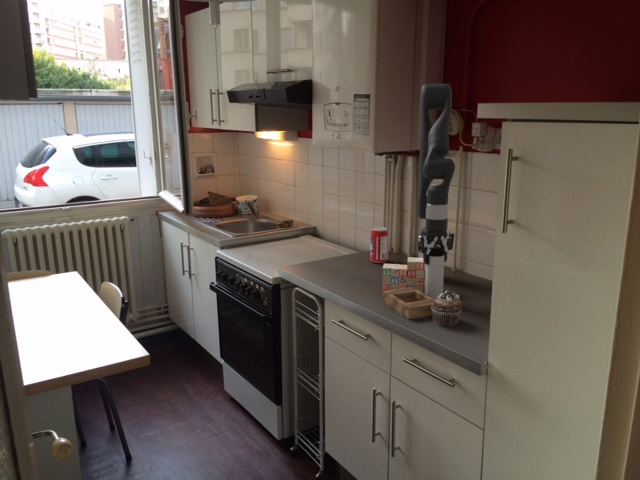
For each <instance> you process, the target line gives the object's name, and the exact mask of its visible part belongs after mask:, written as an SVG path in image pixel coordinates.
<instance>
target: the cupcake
mask: <svg viewBox="0 0 640 480" xmlns="http://www.w3.org/2000/svg"><path fill="white" fill-rule="evenodd" d="M462 309H463V306H462V300H461V299H460V294H459V293H457V292H454V291H450V290H449V289H447V290H445V291H443V292H442V294H440V295H439V296H438V297H437V298H436V299H435V300H434V304H432V306H431V310H432V316H431V317H432V321H433V323H434V324H435V325H438V326H441V327H453V326H454V327H455V325H458V322H459V321H460V316H461V315H460V314H461V312H462Z"/></svg>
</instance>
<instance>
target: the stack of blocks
mask: <svg viewBox="0 0 640 480" xmlns="http://www.w3.org/2000/svg"><path fill="white" fill-rule="evenodd" d="M425 280H426V264H425V263H424V262H423V258H419V257H411V256H409V257H407V263H406V264H399V263H383V266H382V283H381V284H382V285H381V292H382V291H387V290H394V289H401V288H407V287H413V288H415V289H417V290H418V291H420V292H422V293H424V294H425Z"/></svg>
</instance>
